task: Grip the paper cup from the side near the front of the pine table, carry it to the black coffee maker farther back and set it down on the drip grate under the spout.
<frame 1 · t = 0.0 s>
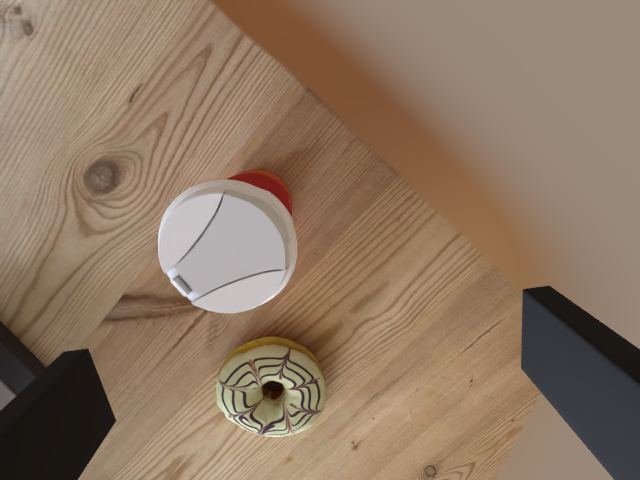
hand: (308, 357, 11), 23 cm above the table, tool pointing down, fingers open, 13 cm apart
paper cup: (260, 200, 33), on the table
decorated donut: (274, 374, 39), on the table
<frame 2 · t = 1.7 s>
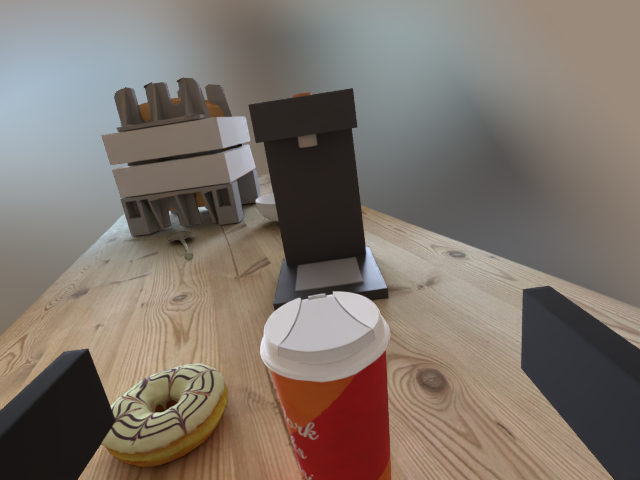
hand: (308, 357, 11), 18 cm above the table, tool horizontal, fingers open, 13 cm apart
transformer: (204, 216, 125), on the table
coffee maker: (329, 282, 60), on the table
soupspoon: (184, 248, 92), on the table
decorated donut: (173, 427, 35), on the table
serving bowl: (297, 218, 104), on the table
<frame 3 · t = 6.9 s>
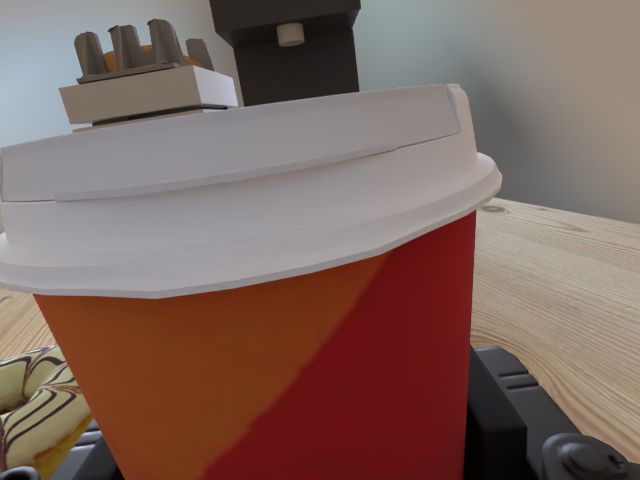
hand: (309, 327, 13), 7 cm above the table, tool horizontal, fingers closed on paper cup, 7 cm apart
transformer: (184, 190, 109), on the table
coffee maker: (321, 242, 45), on the table
decorated donut: (29, 450, 19), on the table
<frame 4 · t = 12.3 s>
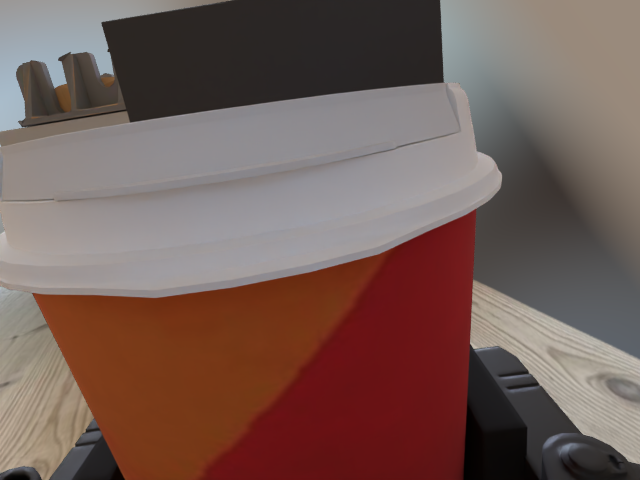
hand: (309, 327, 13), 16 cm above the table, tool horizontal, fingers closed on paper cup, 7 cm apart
transformer: (163, 245, 90), on the table
coffee maker: (348, 470, 26), on the table
when the fingers open (9 cm above the table, at t = 17.8 s): paper cup stays where it is, resting on coffee maker.
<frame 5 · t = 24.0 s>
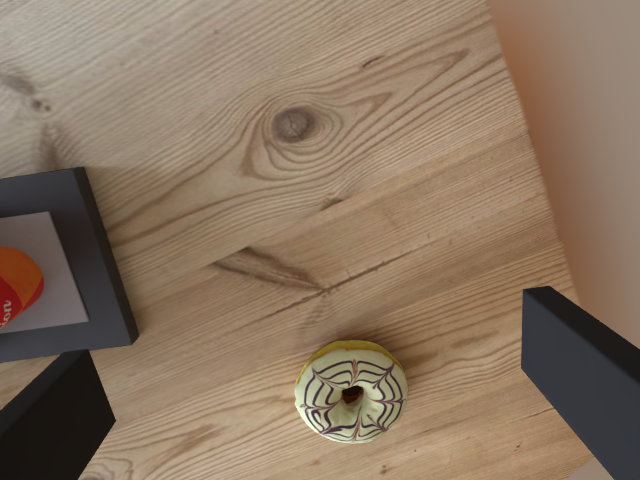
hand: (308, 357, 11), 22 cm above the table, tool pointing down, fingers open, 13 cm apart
paper cup: (12, 276, 32), point 2 cm above the table, touching coffee maker
coffee maker: (26, 269, 33), on the table
decorated donut: (348, 377, 38), on the table
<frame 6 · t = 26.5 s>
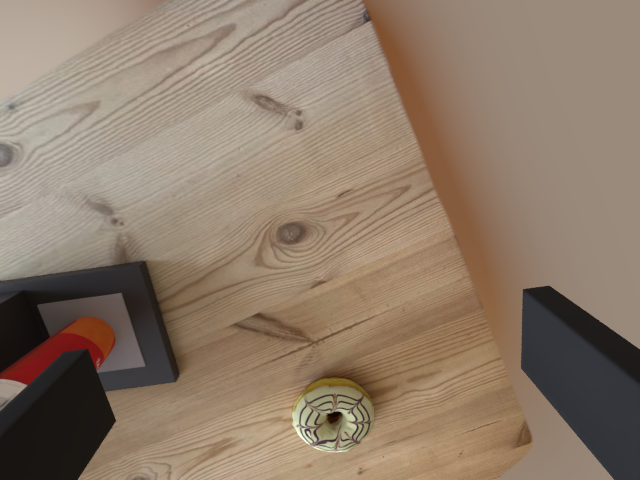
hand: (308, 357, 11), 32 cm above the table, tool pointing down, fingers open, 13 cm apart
paper cup: (93, 335, 45), point 2 cm above the table, touching coffee maker
coffee maker: (100, 329, 47), on the table
decorated donut: (332, 403, 51), on the table
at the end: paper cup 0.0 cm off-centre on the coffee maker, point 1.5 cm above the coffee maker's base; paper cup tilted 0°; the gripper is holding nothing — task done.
